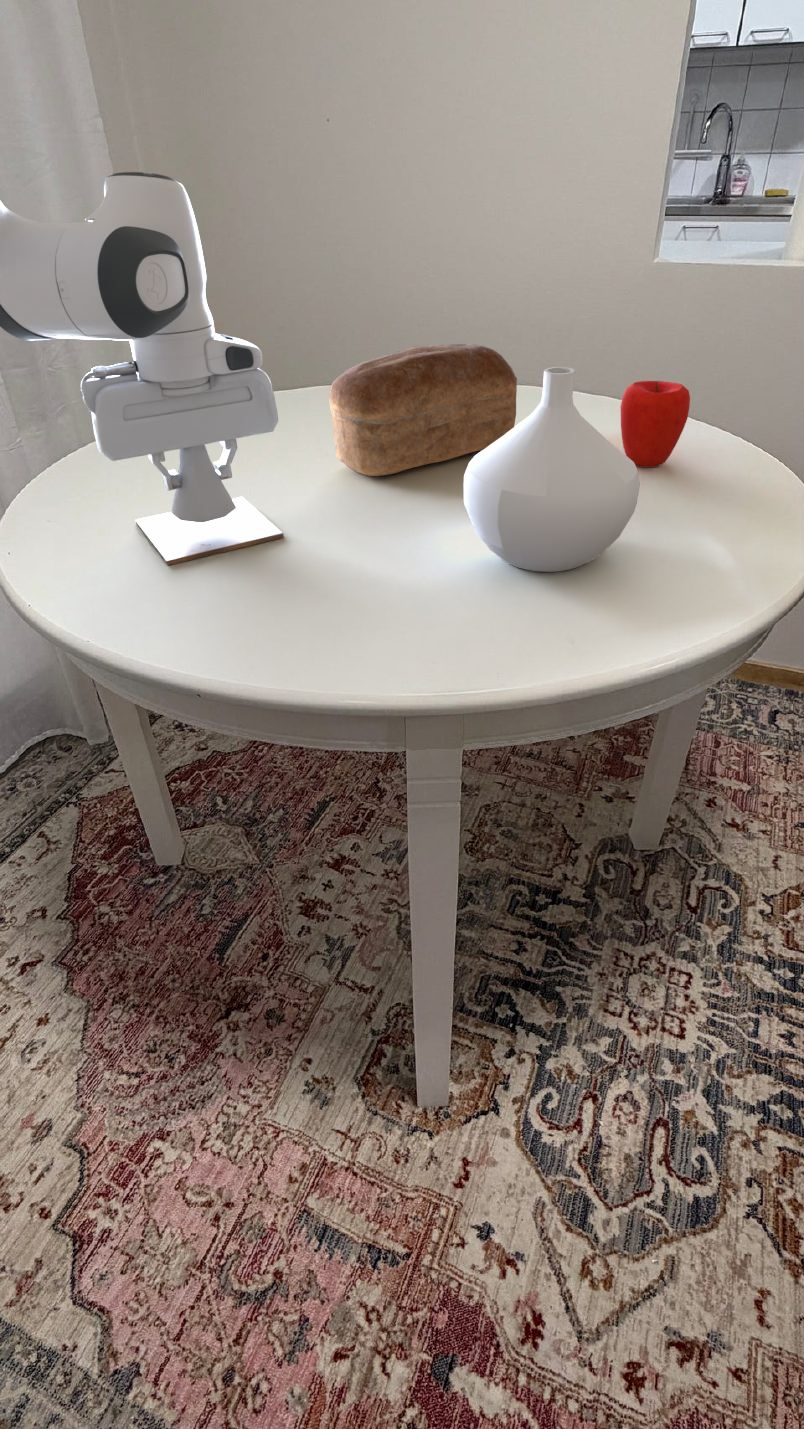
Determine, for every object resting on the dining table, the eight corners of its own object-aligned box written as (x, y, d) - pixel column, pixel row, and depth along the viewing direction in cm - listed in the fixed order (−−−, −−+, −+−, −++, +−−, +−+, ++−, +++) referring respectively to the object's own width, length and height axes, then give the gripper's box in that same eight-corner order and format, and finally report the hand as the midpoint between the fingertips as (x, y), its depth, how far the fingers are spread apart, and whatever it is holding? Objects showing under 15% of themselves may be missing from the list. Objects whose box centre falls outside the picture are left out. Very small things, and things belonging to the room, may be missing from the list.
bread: (322, 465, 115) (313, 358, 106) (476, 428, 127) (478, 329, 118) (366, 488, 106) (360, 375, 98) (526, 446, 119) (532, 342, 110)
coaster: (167, 565, 89) (166, 560, 89) (136, 524, 99) (135, 519, 99) (284, 537, 94) (283, 533, 94) (243, 501, 104) (242, 496, 104)
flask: (201, 529, 91) (185, 441, 85) (160, 516, 95) (142, 430, 89) (247, 509, 96) (234, 424, 90) (207, 497, 99) (192, 414, 93)
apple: (673, 452, 114) (687, 372, 108) (684, 473, 107) (700, 389, 101) (610, 452, 115) (620, 373, 109) (617, 473, 108) (628, 390, 102)
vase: (662, 574, 84) (696, 382, 72) (501, 603, 79) (511, 405, 68) (579, 511, 98) (597, 343, 87) (438, 534, 94) (438, 360, 82)
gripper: (82, 375, 79) (115, 510, 87) (275, 348, 86) (289, 474, 95) (70, 364, 83) (103, 492, 91) (254, 339, 91) (270, 459, 99)
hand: (199, 483), depth 93 cm, fingers closed on flask, 5 cm apart
